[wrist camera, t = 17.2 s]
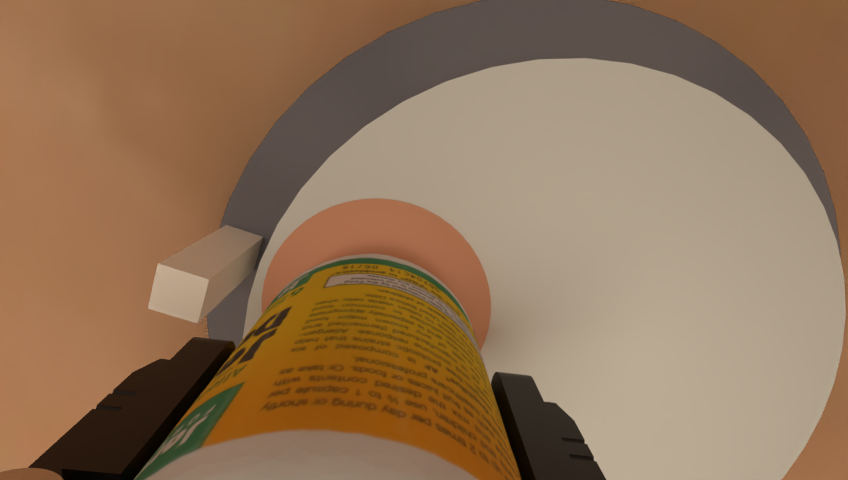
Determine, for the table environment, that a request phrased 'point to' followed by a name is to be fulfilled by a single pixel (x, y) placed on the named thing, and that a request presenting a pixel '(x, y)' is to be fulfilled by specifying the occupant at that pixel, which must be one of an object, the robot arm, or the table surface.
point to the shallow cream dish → (602, 255)
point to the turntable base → (420, 71)
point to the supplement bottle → (347, 388)
